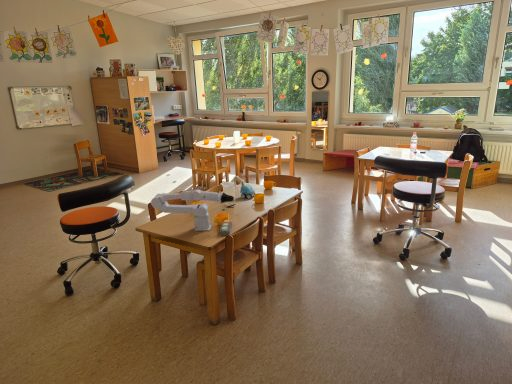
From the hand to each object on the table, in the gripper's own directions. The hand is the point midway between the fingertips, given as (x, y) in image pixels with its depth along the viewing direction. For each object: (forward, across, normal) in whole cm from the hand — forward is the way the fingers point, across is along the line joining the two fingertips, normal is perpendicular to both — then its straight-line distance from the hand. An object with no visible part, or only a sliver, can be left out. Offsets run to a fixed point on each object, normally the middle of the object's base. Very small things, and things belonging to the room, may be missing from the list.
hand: (233, 199), depth 216 cm
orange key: (-3, +5, +17) cm, 18 cm away
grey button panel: (-2, 0, +20) cm, 20 cm away
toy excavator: (+6, +64, +4) cm, 65 cm away
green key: (-3, -5, +20) cm, 21 cm away
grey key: (-3, 0, +19) cm, 19 cm away
